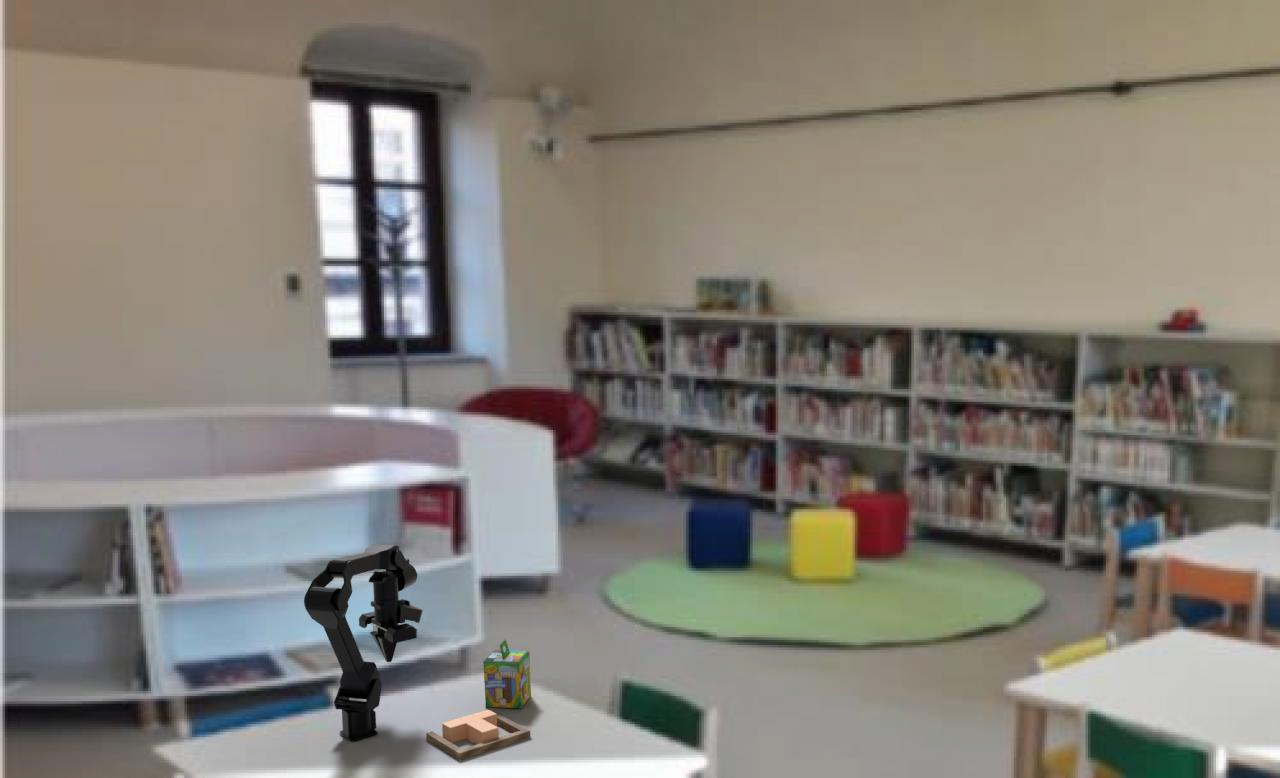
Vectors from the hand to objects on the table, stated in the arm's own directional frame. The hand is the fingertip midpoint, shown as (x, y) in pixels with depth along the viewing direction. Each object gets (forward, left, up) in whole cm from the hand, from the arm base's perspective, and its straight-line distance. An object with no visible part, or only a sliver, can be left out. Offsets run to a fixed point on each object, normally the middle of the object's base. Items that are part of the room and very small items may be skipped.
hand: (388, 661), depth 266 cm
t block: (+7, -27, -12) cm, 31 cm away
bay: (+7, -28, -12) cm, 31 cm away
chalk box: (+24, -14, -12) cm, 30 cm away
